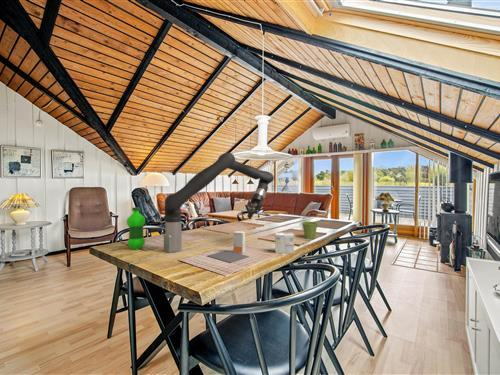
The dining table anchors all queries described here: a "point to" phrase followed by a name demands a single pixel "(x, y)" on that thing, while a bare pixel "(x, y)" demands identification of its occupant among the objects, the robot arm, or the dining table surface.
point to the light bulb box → (284, 243)
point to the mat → (228, 256)
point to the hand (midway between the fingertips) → (249, 217)
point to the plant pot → (309, 229)
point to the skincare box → (239, 242)
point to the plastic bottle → (136, 229)
